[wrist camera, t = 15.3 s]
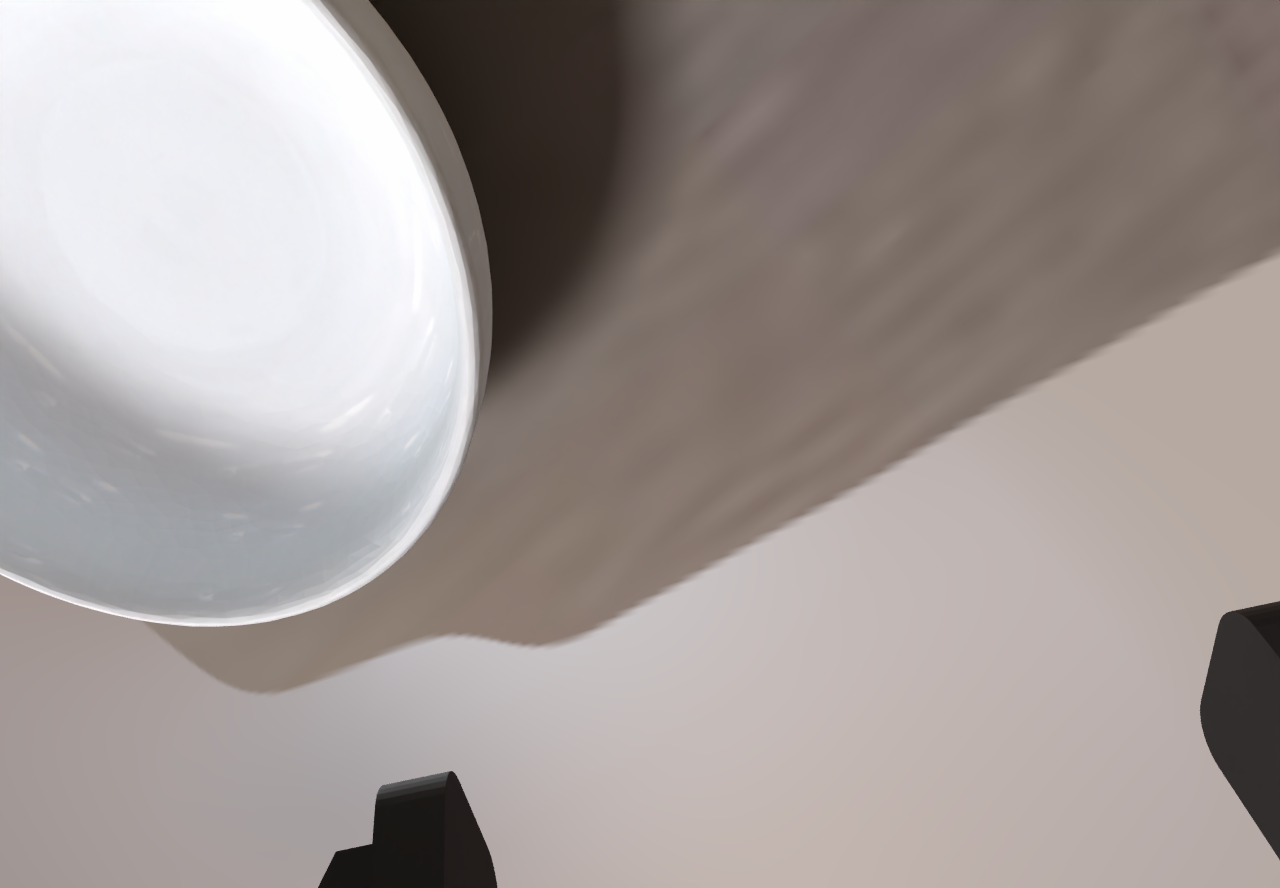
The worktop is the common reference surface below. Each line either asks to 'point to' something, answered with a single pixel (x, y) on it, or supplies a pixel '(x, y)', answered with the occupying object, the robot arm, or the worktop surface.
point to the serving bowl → (227, 304)
